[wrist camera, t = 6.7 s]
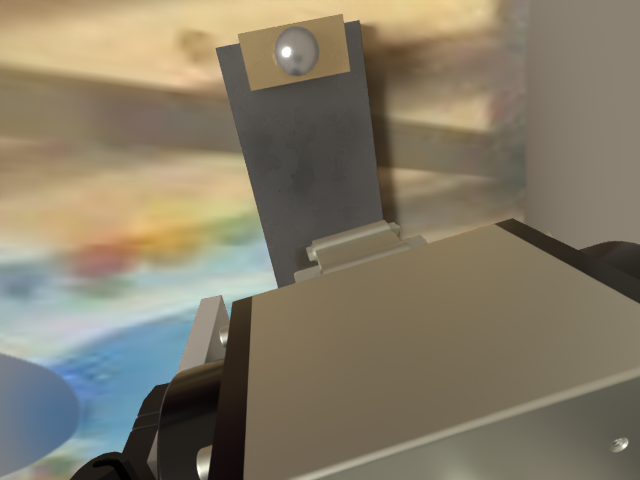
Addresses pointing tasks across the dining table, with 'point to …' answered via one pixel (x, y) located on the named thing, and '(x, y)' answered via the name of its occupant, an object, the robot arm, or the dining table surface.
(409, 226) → the dining table surface
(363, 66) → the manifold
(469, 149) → the dining table surface
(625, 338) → the pneumatic valve
